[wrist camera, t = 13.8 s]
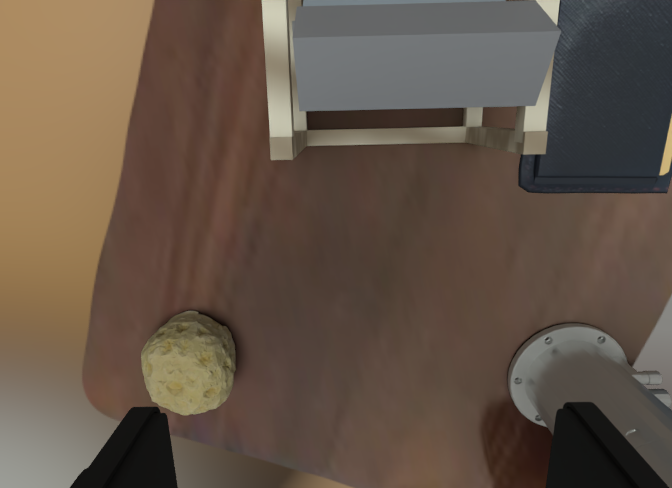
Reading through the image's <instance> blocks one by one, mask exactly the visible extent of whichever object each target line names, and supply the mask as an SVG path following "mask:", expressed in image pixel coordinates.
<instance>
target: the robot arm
mask: <svg viewBox="0 0 672 488" xmlns="http://www.w3.org/2000/svg"><path fill="white" fill-rule="evenodd" d="M507 379H508V389H509V393H510V396H511V398H512V400H513V402H514V404H515V405H516V407H517V408H518V409H519V411H520V412H521V413H522V414H523V415H524V416H525V417H526V418H528V419H529V420H531V421H532V422H534V423H536V424H539V425H542V426H545V427H548V429H549V430H550V432H551V433H552V435H553V439H552V446H551V453H550V460H549V467H548V475H547V482H546V488H672V410H671V409H670V408H669V407H670V406H671V397H670V395H669V393H668V392H667V391H666V390H664V389H647V388H646V387H645V386H643V385H642V384H646V385H659V384H661V383H662V376H661V374H660V373H659V372H658V371H643V372H637V371H636V370H635V369H633V368H632V367H631V366H630V365H629V364H628V363H627V359H626V356H625V354H624V352H623V349H622V348H621V347H620V345H619V344H618V343H617V342H616V341H615V340H614V339H613V338H612V337H611V336H609V335H608V334H607V333H605V332H604V331H602V330H600V329H599V328H596V327H593V326H590V325H586V324H579V323H567V324H562V325H556V326H553V327H550V328H548V329H545V330H543V331H541V332H539V333H537V334H536V335H534V336H533V337H531V338H530V339H529V340H528V341H526V342H525V343H524V344H523V346H522V347H521V348H520V349H519V350H518V351H517V353H516V355H515V356H514V358H513V360H512V362H511V365H510V368H509V372H508V378H507ZM70 488H178V487H177V480H176V473H175V467H174V460H173V453H172V446H171V439H170V432H169V426H168V419H167V415H166V414H165V413H160V410H159V408H158V407H133V408H131V409H130V410H129V412H128V413H127V414H126V416H125V417H124V419H123V420H122V421H121V423H120V424H119V426H118V427H117V428H116V430H115V431H114V433H113V434H112V435H111V437H110V438H109V440H108V441H107V442H106V444H105V445H104V447H103V448H102V449H101V451H100V452H99V454H98V455H97V456H96V458H95V459H94V461H93V462H92V463H91V465H90V466H89V467H88V468H87V469H85V470H83V472H82V473H81V474H80V475H79V476H78V477H77V479H76V480H75V481H74V483H73V484H72V486H71V487H70Z"/></svg>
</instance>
